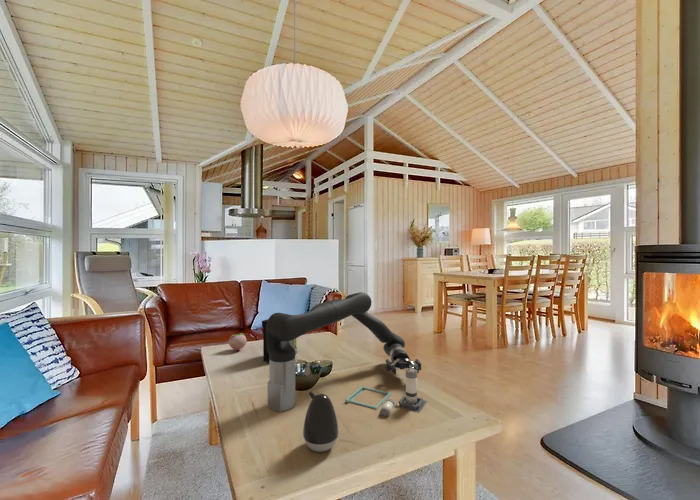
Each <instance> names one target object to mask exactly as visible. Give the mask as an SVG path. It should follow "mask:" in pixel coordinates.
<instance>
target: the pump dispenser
mask: <svg viewBox="0 0 700 500" xmlns="http://www.w3.org/2000/svg"><path fill="white" fill-rule="evenodd" d="M308 395H309V396H310V397H309V398H311V400H310V403H309V404H308V407H307V411H306V414H305V418H304V423H303V429H302V437H303V439H304V441H305V444H306V446H307V447H308V448H309V449H310V450H311V451H314V452H318V453H321V452H326V451H328V450H329V451H330V449H332V448H333V447H334V445H335V444H336V441H337V438H338V437H339V424H338V419H337V414H336V411H335V408H334V404H333V403H332V402H333V401H332V400H331V399H330V397H329V396H328V395H326V394H324V393H318V394H315V393H314V392H312V391H310V392H309V393H308Z"/></svg>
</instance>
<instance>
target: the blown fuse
mask: <svg viewBox="0 0 700 500" xmlns="http://www.w3.org/2000/svg"><path fill="white" fill-rule="evenodd" d="M405 394H406V403H408V404H413V405H417V397H418V374H417V370H415V369H405Z"/></svg>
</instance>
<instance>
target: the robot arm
mask: <svg viewBox="0 0 700 500" xmlns="http://www.w3.org/2000/svg"><path fill="white" fill-rule="evenodd" d="M371 306H372V299H371V296H370V295H369V294H368V293H366V292H356V293H352V294H348V295H347V296H345V298H341V299H340V298H339V299H334V300H328V301H325V302H321V303H318V304H315V305H314V306H312V308H311V309H309V311H307V312H304V313H300V314H293V315H292V314H288V313H282V312H275V313H273V314H271V315H270V316H269V318H268V321H267V325H266V340H267V351H268V353H269V362H268V363H269V364H268V365H269V367H268V369H269V375H268V378H269V381H267V384H266V386H267V409H269V410H271V411H275V412H278V413H282V412H285V411H288V410H292V409H293V408H294V407H295V406H296V354H295V350H294V348H293V347H292V346H291V345H290V343H289V341H291V340H294V339H296V340H297V338H300V337H301V336H303V335H305V334H307V333H309V332H312V331H316V330H318V329H321V328H323V327H326V326H329V325H333V324H335V323H337V322H339V321H342V320H344V319H346V318H348V317H351V316H352V317H353V318H355V319H356V320H357V321H358V322H359V323H361V324H362V325H363V326H364V327H366V328H367V329H368V330H369V331H370V332H371V333H372V334H373V335H374V336H375V338H377V340H378V341H380V343H383V344H384V345H383V348H382V349H383V351H384V352H385V354H386V355H387V356H389V357H390V360H389V359H385V370H386V371H390V370H391V374H392V373H393V374H394V375H396V374H397V371H398V370H406V369H415V370H417V375H418V374H419V373H420V371H422V363H421V361H420V360H419V359H418V358H416V359H414V360H411V359H410V356H409V354H408V353H407V351H406V350H405V346H406V345H405V340H404V339H403V338H402V337H401V336H399V335H397V334H396V333H395V332H394V331H391V329H390V328H388V326H387V325H386V324H385V323H384V322H383V321H382V320H381V319H379V318H378V317H375V316H373V315H371V314H370V313H368V311H369V310H370V309H371Z"/></svg>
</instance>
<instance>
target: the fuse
mask: <svg viewBox="0 0 700 500" xmlns="http://www.w3.org/2000/svg"><path fill="white" fill-rule="evenodd" d="M383 404H384V405H383V406H382V408H380V410H379V413H378V414H379V416H383V417H388V418H389V417H390V415H391V413H392V411H393V409H394V408H395V405H396V403H395V401H394V400H393V399H391V398H387V399H386V400H385V401H384V403H383Z"/></svg>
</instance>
